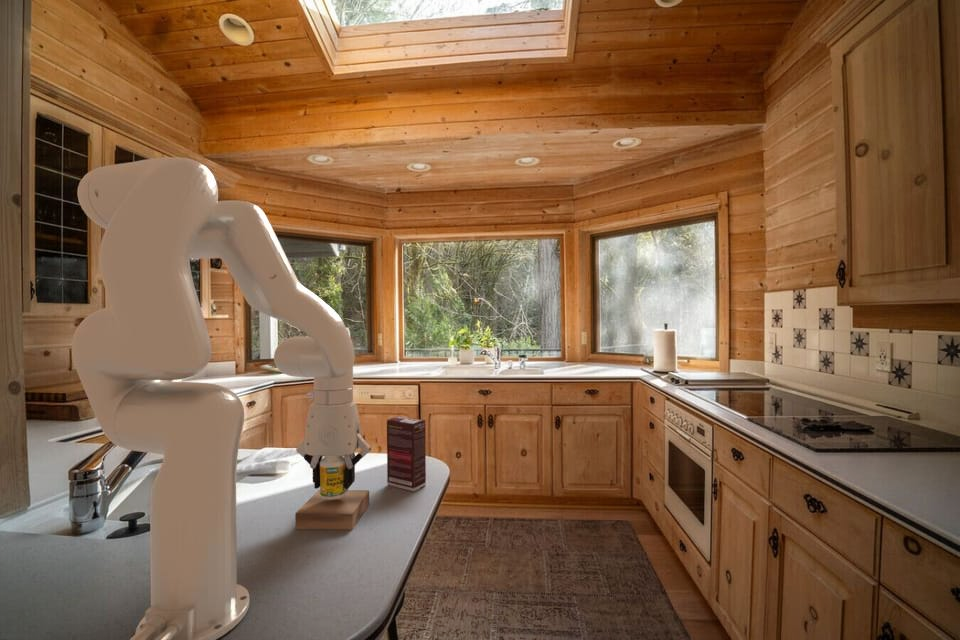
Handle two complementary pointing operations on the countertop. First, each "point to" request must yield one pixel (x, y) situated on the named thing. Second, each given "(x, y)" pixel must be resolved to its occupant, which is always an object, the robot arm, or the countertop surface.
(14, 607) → the countertop surface
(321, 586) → the countertop surface
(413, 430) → the supplement box
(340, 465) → the supplement bottle
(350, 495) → the square wooden block
